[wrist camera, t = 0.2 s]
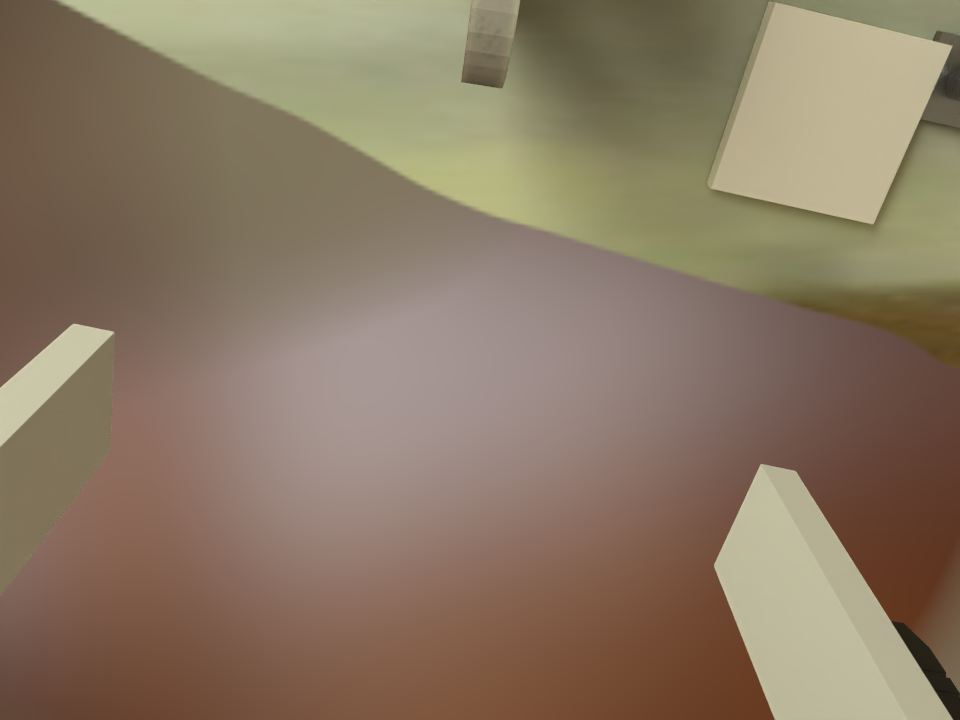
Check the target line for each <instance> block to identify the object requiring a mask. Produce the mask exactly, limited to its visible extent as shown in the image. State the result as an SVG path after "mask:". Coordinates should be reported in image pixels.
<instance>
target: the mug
mask: <svg viewBox="0 0 960 720" xmlns="http://www.w3.org/2000/svg"><path fill="white" fill-rule="evenodd" d="M519 5H520V0H472V6H471V13H470V20H469V28H468V35H467V42H466V50H465V57H464V65H463V72H462V80H461V82H465V83H471V84H477V85H483V86H490V87H496V88H502V87H503V85H504V81H505V78H506V74H507V70H508V65H509V60H510V56H511V51H512V45H513V40H514V35H515V29H516V23H517V17H518V11H519Z"/></svg>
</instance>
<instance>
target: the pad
mask: <svg viewBox="0 0 960 720" xmlns="http://www.w3.org/2000/svg"><path fill="white" fill-rule="evenodd" d="M951 49H952V46H951V45H947V44H943V43H939V42H935V41H931V40H927V39H923V38H919V37H915V36H911V35H907V34H903V33H899V32H895V31H890V30H886V29H882V28H878V27H874V26H870V25H866V24H862V23H858V22H854V21H850V20H846V19H842V18H838V17H833V16H829V15H825V14H821V13H817V12H813V11H809V10H805V9H801V8H797V7H793V6H789V5H785V4H781V3H777V2H768V5H767V8H766V11H765V14H764V17H763V20H762V23H761V26H760V29H759V31H758V34H757V37H756V40H755V43H754V46H753V49H752V52H751V55H750V58H749V61H748V64H747V67H746V69H745V72H744V75H743V78H742V81H741V84H740V87H739V90H738V93H737V96H736V99H735V102H734V105H733V107H732V110H731V113H730V116H729V119H728V122H727V125H726V128H725V131H724V134H723V137H722V140H721V142H720V145H719V148H718V151H717V154H716V157H715V160H714V163H713V166H712V169H711V172H710V175H709V178H708V180H707V183H706V184H707V185H708V186H709V187H710V188H711V189H715V190H719V191H724V192H728V193H733V194H737V195H742V196H746V197H751V198H755V199H760V200H765V201H769V202H774V203H778V204H783V205H787V206H792V207H796V208H801V209H805V210H810V211H814V212H819V213H824V214H828V215H833V216H837V217H842V218H846V219H851V220H855V221H860V222H864V223H869V224H874V222H875V220H876V217H877V215H878V213H879V211H880V208H881V206H882V204H883V202H884V199H885V197H886V195H887V193H888V190H889V188H890V186H891V184H892V181H893V179H894V177H895V175H896V172H897V170H898V168H899V166H900V163H901V161H902V159H903V157H904V154H905V152H906V150H907V148H908V145H909V143H910V141H911V139H912V136H913V134H914V132H915V130H916V127H917V125H918V123H919V121H920V118H921V116H922V114H923V112H924V109H925V107H926V105H927V103H928V100H929V98H930V96H931V94H932V91H933V89H934V87H935V85H936V82H937V80H938V78H939V76H940V73H941V71H942V69H943V67H944V64H945V62H946V60H947V58H948V55H949V53H950V51H951Z"/></svg>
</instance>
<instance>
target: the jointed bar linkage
mask: <svg viewBox="0 0 960 720" xmlns="http://www.w3.org/2000/svg"><path fill="white" fill-rule="evenodd" d="M933 41H935V42H939V43H943V44H947V45H951V46H952V49H951V51H950V53H949V55H948V58H947V60H946V62H945V64H944V67H943V69H942V71H941V73H940V76H939V78H938V80H937V82H936V85H935V87H934V89H933V91H932V94H931V96H930V98H929V100H928V103H927V105H926V107H925V109H924V112H923V114H922V116H921V118H920V119H922V120H926V121H931V122H935V123H939V124H943V125H948V126H952V127H956V128H960V36H958V35H954V34H950V33H946V32H941V31H937V32H936V35H935V37H934V39H933Z"/></svg>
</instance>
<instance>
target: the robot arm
mask: <svg viewBox="0 0 960 720" xmlns="http://www.w3.org/2000/svg"><path fill="white" fill-rule="evenodd" d="M114 339H115V332H112V331H107V330H102V329H97V328H92V327H87V326H82V325H77V324H73V325H72V326H70V327H69V328H68V329H67V330H66V331H65V332H64V333H62V334H61V335H60V336H59V337H58V338H57V339H56V340H54V341H53V342H52V343H51V344H50V345H49V346H48V347H46V348H45V349H44V350H43V351H42V352H41V353H40V354H39V355H37V356H36V357H35V358H34V359H33V360H32V361H31V362H30V363H28V364H27V365H26V366H25V367H24V368H22V369H21V370H20V371H19V372H18V373H17V374H16V375H15V376H13V377H12V378H11V379H10V380H9V381H8V382H7V383H5V384H4V385H3V386H2V387H1V388H0V596H1V595H2V593H3V592H4V591H5V589H6V588H7V587H8V586H9V584H10V583H11V582H12V580H13V579H14V578H15V576H16V575H17V574H18V572H19V571H20V570H21V568H22V567H23V566H24V564H25V563H26V562H27V560H28V559H29V558H30V557H31V555H32V554H33V553H34V551H35V550H36V549H37V547H38V546H39V545H40V543H41V542H42V541H43V539H44V538H45V537H46V536H47V534H48V533H49V531H50V530H51V529H52V528H53V526H54V525H55V523H56V522H57V521H58V520H59V518H60V517H61V516H62V514H63V513H64V511H66V509H67V508H68V506H69V505H70V504H71V502H72V501H73V500H74V499H75V497H76V496H77V495H78V493H79V492H80V491H81V489H82V488H83V487H84V485H85V484H86V483H87V481H88V480H89V479H90V477H91V476H92V475H93V474H94V472H95V471H96V470H97V468H98V467H99V466H100V464H101V463H102V462H103V460H104V459H105V458H106V457H107V455H108V454H109V453H110V442H111V416H112V392H113V365H114ZM714 567H715V570H716V572H717V575H718V577H719V580H720V582H721V585H722V587H723V590H724V592H725V595H726V598H727V600H728V603H729V605H730V608H731V610H732V613H733V615H734V618H735V620H736V623H737V625H738V628H739V630H740V633H741V635H742V638H743V640H744V643H745V645H746V648H747V650H748V653H749V656H750V658H751V660H752V663H753V666H754V668H755V671H756V673H757V676H758V678H759V681H760V683H761V686H762V688H763V691H764V693H765V696H766V698H767V701H768V703H769V706H770V709H771V711H772V714H773V716H774V718H775V720H960V693H959V692H958V690H957V688H956V687H955V685H954V684H953V682H952V681H951V679H950V678H946V672H945V670H944V669H943V667H942V666H941V664H940V663H939V661H938V660H937V659H936V657H935V655H934V654H933V653H932V651H931V650H930V648H929V647H928V646H927V645H926V644H925V643H924V642H923V641H922V640H921V639H920V638H919V637H918V636H917V635H915V634H914V633H913V632H912V631H911V630H910V629H909V628H908V627H907V626H906V625H905V624H904V623H899V622H894V621H890V619H889V618H888V616H887V615H886V613H885V612H884V610H883V608H882V607H881V606H880V604H879V602H878V601H877V599H876V597H875V596H874V595H873V593H872V591H871V589H870V588H869V586H868V585H867V583H866V582H865V580H864V579H863V577H862V576H861V574H860V572H859V571H858V569H857V568H856V566H855V564H854V563H853V561H852V559H851V558H850V557H849V555H848V553H847V552H846V550H845V548H844V547H843V545H842V544H841V542H840V541H839V539H838V537H837V536H836V534H835V533H834V531H833V529H832V528H831V526H830V525H829V523H828V522H827V520H826V519H825V517H824V515H823V514H822V512H821V511H820V509H819V507H818V506H817V504H816V503H815V501H814V500H813V498H812V496H811V495H810V493H809V492H808V490H807V489H806V487H805V485H804V484H803V482H802V481H801V479H800V477H799V476H798V474H797V473H796V471H793V470H788V469H783V468H778V467H773V466H768V465H763V464H761V465H760V467H759V469H758V472H757V474H756V476H755V478H754V480H753V482H752V484H751V487H750V489H749V491H748V493H747V495H746V497H745V500H744V502H743V504H742V506H741V508H740V510H739V512H738V515H737V517H736V519H735V521H734V523H733V525H732V528H731V530H730V532H729V534H728V536H727V539H726V541H725V543H724V545H723V547H722V549H721V551H720V554H719V556H718V558H717V560H716V562H715V564H714Z"/></svg>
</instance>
